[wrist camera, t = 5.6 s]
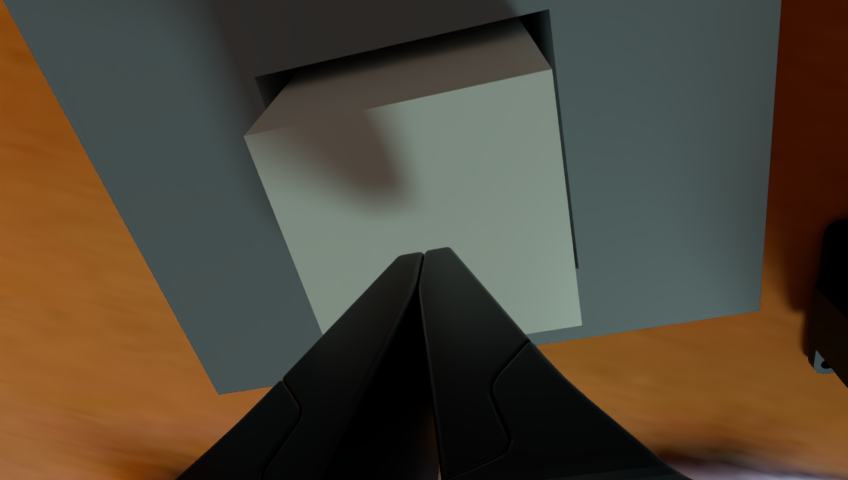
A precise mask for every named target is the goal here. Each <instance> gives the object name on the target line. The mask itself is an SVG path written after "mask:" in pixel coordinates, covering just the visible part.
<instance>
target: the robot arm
mask: <svg viewBox="0 0 848 480" xmlns="http://www.w3.org/2000/svg"><path fill="white" fill-rule="evenodd" d="M846 232H848V218H847V219H842V220H839V221H836V222H834V223H832V224H831V225H830V226H829V227H828V228H827V229H826V231H825V234H824V239H823V246H822V254H821V262H820V270H819V278H818V281H817V283H816V285H815V286H814V290H813V298H812V306H811V314H810V322H809V330H808V341H809V342H810V348H809V356H808V361H809V363H810V364H811V366H812V367H813V368H814V369H815V370H816V372H818V373H821V374H828V373H836V375H837V376H838V377H839V378H840V379H841V381H842V382H843V383H844V384H845V385H846V387H847V388H848V233H847V235H846V236H844V237H843V238H841V239H839V238H840V236H841V235H842V234H844V233H846ZM824 360H825V361H824ZM282 380H283V381H282ZM282 380H280V381H278V382H277V383H276V385H275V386H274V387H273V388H272V389H271V390H270V391H269V392H268V393H267V394H266V395H265V396H264V397H263V398H262V399H261V400H260V401H259V402H258V403H257V404H256V405H255V406H254V407H253V408H252V409H251V410H250V411H249V412H248V413H247V414H246V415H245V416H244V417H243V418H242V419H241V420H240V421H239V422H238V423H237V424H236V425H235V426H234V427H233V428H232V429H231V430H229V431H228V432H227V433H226V434H225V435H224V436H223V437H222V438H221V439H220V440H219V441H218V442H216V443H215V444H214V445H213V446H212V447H211V448H210V449H209V450H208V451H207V452H205V453H204V454H203V455H202V456H201V457H200V458H199V459H198V460H196V461H195V462H194V463H193V464H192V465H191V466H190V467H189V468H187V469H186V470H185V471H184V472H183V473H182V474H181V475H180V476H178V477H177V478H176V479H175V480H438V473H439V465H440V473H441V480H692V479H690V478H689V477H687V476H685V475H683V474H681V473H680V472H678V471H677V470H675V469H674V468H672V467H671V466H669V465H668V464H667V463H665V462H664V461H663V460H662V459H660V458H659V457H658V456H657V455H655V454H654V453H653V452H652V451H651V450H649V449H648V448H647V447H646V446H645V445H643V444H642V443H641V442H640V441H639V440H637V439H636V438H635V437H634V436H633V435H631V434H630V433H629V432H628V431H627V430H625V429H624V428H623V427H622V426H621V425H619V424H618V423H617V422H616V421H615V420H613V419H612V418H611V417H610V416H609V415H607V414H606V413H605V412H604V411H603V410H601V409H600V408H599V407H598V406H597V405H595V404H594V403H593V402H592V401H591V400H589V399H588V398H587V397H586V396H585V395H584V394H583V393H582V392H580V391H579V390H578V389H577V388H576V387H575V386H574V385H573V384H572V383H570V382H569V381H568V380H567V379H566V378H565V377H564V376H563V375H562V374H561V373H560V372H559V371H558V370H557V369H556V368H555V367H554V366H553V365H552V363H551V362H550V361H549V360H548V359H547V358H546V357H545V356H544V355H543V354H542V353H541V351H540V350H539V349H538V348H537V347H536V346H535V344H534V343H532V342H531V340H530V339H529V338H528V337H527V336H526V334H525V333H524V332H523V331H522V330H521V329H520V327H519V326H518V325H517V324H516V323H515V322H514V320H513V319H512V318H511V317H510V316H509V315H508V313H507V312H506V311H505V310H504V309H503V308H502V307H501V305H500V304H499V303H498V302H497V301H496V300H495V298H494V297H493V296H492V295H491V294H490V293H489V291H488V290H487V289H486V288H485V287H484V286H483V285H482V283H481V282H480V281H479V280H478V279H477V278H476V276H475V275H474V274H473V273H472V272H471V271H470V269H469V268H468V267H467V266H466V265H465V264H464V262H463V261H462V260H461V259H460V258H459V257H458V256H457V254H456V253H455V252H454V251H453V250H452V249H451V248H450V247H443V248H437V249H432V250H428V251H426V252H425V254H424V253H422V252H415V253H409V254H404V255H400V256H398V257H397V258H396V259H395V260H394V261H393V262H392V263H391V264H390V265H389V266H388V267H387V268H386V269H385V270H384V271H383V272H382V274H381V275H380V276H379V277H378V278H377V279H376V280H375V281H374V282H373V283H372V284H371V285H370V286H369V287H368V288H367V289H366V290H365V291H364V292H363V293H362V295H361V296H360V297H359V298H358V299H357V300H356V301H355V302H354V303H353V304H352V305H351V306H350V307H349V308H348V309H347V310H346V311H345V312H344V313H343V314H342V316H341V317H340V318H339V319H338V320H337V321H336V322H335V323H334V324H333V325H332V326H331V327H330V328H329V329H328V330H327V331H326V332H325V333H324V334H323V335H322V337H321V338H320V339H319V340H318V341H317V342H316V343H315V344H314V345H313V346H312V347H311V348H310V349H309V350H308V351H307V352H306V353H305V354H304V355H303V356H302V357H301V359H300V360H299V361H298V362H297V363H296V364H295V365H294V366H293V367H292V368H291V369H290V370H289V371H288V372H287V373H286V374H285V375H284V376H283V378H282Z"/></svg>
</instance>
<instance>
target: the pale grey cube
mask: <svg viewBox="0 0 848 480" xmlns="http://www.w3.org/2000/svg"><path fill="white" fill-rule="evenodd" d="M244 139H245V141H246V144H247V146H248V149H249V151H250V154H251V156H252V159H253V161H254V164H255V166H256V169H257V171H258V174H259V176H260V179H261V181H262V184H263V186H264V189H265V191H266V194H267V196H268V199H269V201H270V204H271V206H272V209H273V211H274V214H275V216H276V219H277V221H278V224H279V226H280V229H281V231H282V234H283V236H284V239H285V241H286V244H287V246H288V249H289V251H290V254H291V257H292V259H293V262H294V264H295V267H296V269H297V272H298V274H299V277H300V279H301V282H302V284H303V287H304V289H305V292H306V294H307V297H308V299H309V302H310V304H311V307H312V309H313V312H314V314H315V317H316V319H317V322H318V324H319V327H320V329H321V332H322V334H324V333H325V332H326V331H327V330H328V329H329V328H330V327H331V326H332V325H333V324H334V323H335V322H336V321H337V320H338V319H339V318H340V317H341V316H342V314H343V313H344V312H345V311H346V310H347V309H348V308H349V307H350V306H351V305H352V304H353V303H354V302H355V301H356V300H357V299H358V298H359V297H360V296H361V295H362V293H363V292H364V291H365V290H366V289H367V288H368V287H369V286H370V285H371V284H372V283H373V282H374V281H375V280H376V279H377V278H378V277H379V276H380V275H381V274H382V272H383V271H384V270H385V269H386V268H387V267H388V266H389V265H390V264H391V263H392V262H393V261H394V260H395V259H396V258H397V257H398V256H400V255H404V254H409V253H415V252H422V253H424V254H425V252H426V251H428V250H432V249H437V248H443V247H450V248H451V249H452V250H453V251H454V252H455V253H456V254H457V256H458V257H459V258H460V259H461V260H462V261H463V262H464V264H465V265H466V266H467V267H468V268H469V269H470V271H471V272H472V273H473V274H474V275H475V276H476V278H477V279H478V280H479V281H480V282H481V283H482V285H483V286H484V287H485V288H486V289H487V290H488V291H489V293H490V294H491V295H492V296H493V297H494V298H495V300H496V301H497V302H498V303H499V304H500V305H501V307H502V308H503V309H504V310H505V311H506V312H507V313H508V315H509V316H510V317H511V318H512V319H513V320H514V322H515V323H516V324H517V325H518V326H519V327H520V329H521V330H522V331H523V332H524V333H525V334H531V333H537V332H543V331H550V330H556V329H562V328H569V327H575V326H581V325H582V320H581V312H580V303H579V295H578V286H577V278H576V269H575V261H574V252H573V244H572V235H571V227H570V218H569V210H568V201H567V193H566V184H565V176H564V167H563V159H562V150H561V142H560V133H559V125H558V116H557V108H556V99H555V91H554V82H553V74H552V68H551V67H550V65H549V64H548V62H547V61H546V59H545V58H544V56H543V55H542V53H541V52H540V50H539V48H538V47H537V45H536V44H535V42H534V41H533V39H532V38H531V36H530V35H529V33H528V32H527V30H526V29H525V27H524V25H523V24H522V22H521V21H520V19H519V18H518V16H517V17H512V18H508V19H504V20H499V21H495V22H491V23H486V24H482V25H478V26H474V27H469V28H465V29H461V30H456V31H452V32H448V33H443V34H439V35H435V36H430V37H426V38H422V39H417V40H413V41H409V42H404V43H400V44H396V45H391V46H387V47H383V48H378V49H374V50H370V51H365V52H361V53H357V54H352V55H348V56H344V57H340V58H335V59H331V60H327V61H322V62H318V63H314V64H309V65H305V66H302V67H301V68H300V70H299V71H298V72H297V73H296V74H295V76H294V77H293V78H292V79H291V80H290V81H289V83H288V84H287V85H286V86H285V87H284V89H283V90H282V91H281V92H280V93H279V95H278V96H277V97H276V98H275V99H274V101H273V102H272V103H271V104H270V105H269V106H268V108H267V109H266V110H265V111H264V112H263V114H262V115H261V116H260V117H259V118H258V120H257V121H256V122H255V123H254V124H253V126H252V127H251V128H250V129H249V130H248V132H247V133H246V134H245V135H244Z"/></svg>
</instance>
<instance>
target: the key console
mask: <svg viewBox="0 0 848 480" xmlns="http://www.w3.org/2000/svg"><path fill="white" fill-rule="evenodd" d="M3 1H4V3H5V5H6V7H7V9H8V10H9V12H10V14H11V16H12V18H13V19H14V21H15V23H16V25H17V27H18V29H19V30H20V32H21V34H22V36H23V38H24V40H25V41H26V43H27V45H28V47H29V49H30V51H31V52H32V54H33V56H34V58H35V60H36V62H37V63H38V65H39V67H40V69H41V71H42V73H43V74H44V76H45V78H46V80H47V82H48V84H49V85H50V87H51V89H52V91H53V93H54V95H55V96H56V98H57V100H58V102H59V104H60V106H61V107H62V109H63V111H64V113H65V115H66V116H67V118H68V120H69V122H70V124H71V126H72V127H73V129H74V131H75V133H76V135H77V137H78V138H79V140H80V142H81V144H82V146H83V148H84V149H85V151H86V153H87V155H88V157H89V159H90V160H91V162H92V164H93V166H94V168H95V170H96V171H97V173H98V175H99V177H100V179H101V181H102V182H103V184H104V186H105V188H106V190H107V192H108V193H109V195H110V197H111V199H112V201H113V203H114V204H115V206H116V208H117V210H118V212H119V214H120V215H121V217H122V219H123V221H124V223H125V224H126V226H127V228H128V230H129V232H130V234H131V235H132V237H133V239H134V241H135V243H136V245H137V246H138V248H139V250H140V252H141V254H142V256H143V257H144V259H145V261H146V263H147V265H148V267H149V268H150V270H151V272H152V274H153V276H154V278H155V279H156V281H157V283H158V285H159V287H160V289H161V290H162V292H163V294H164V296H165V298H166V300H167V301H168V303H169V305H170V307H171V309H172V311H173V312H174V314H175V316H176V318H177V320H178V321H179V323H180V325H181V327H182V329H183V331H184V332H185V334H186V336H187V338H188V340H189V342H190V343H191V345H192V347H193V349H194V351H195V353H196V354H197V356H198V358H199V360H200V362H201V364H202V365H203V367H204V369H205V371H206V373H207V375H208V376H209V378H210V380H211V382H212V384H213V386H214V387H215V389H216V391H217V393H218V395H220V394H226V393H233V392H239V391H245V390H252V389H258V388H265V387H271V386H275V385H276V383H277V382H278V381H280V380H282V378H283V376H284V375H285V374H286V373H287V372H288V371H289V370H290V369H291V368H292V367H293V366H294V365H295V364H296V363H297V362H298V361H299V360H300V359H301V357H302V356H303V355H304V354H305V353H306V352H307V351H308V350H309V349H310V348H311V347H312V346H313V345H314V344H315V343H316V342H317V341H318V340H319V339H320V338H321V337H322V335H323V334H322V332H321V329H320V327H319V324H318V322H317V319H316V317H315V314H314V312H313V309H312V307H311V304H310V302H309V299H308V297H307V294H306V292H305V289H304V287H303V284H302V282H301V279H300V277H299V274H298V272H297V269H296V267H295V264H294V262H293V259H292V257H291V254H290V251H289V249H288V246H287V244H286V241H285V239H284V236H283V234H282V231H281V229H280V226H279V224H278V221H277V219H276V216H275V214H274V211H273V209H272V206H271V204H270V201H269V199H268V196H267V194H266V191H265V189H264V186H263V184H262V181H261V179H260V176H259V174H258V171H257V169H256V166H255V164H254V161H253V159H252V156H251V154H250V151H249V149H248V146H247V144H246V141H245V139H244V135H245V134H246V133H247V132H248V130H249V129H250V128H251V127H252V126H253V124H254V123H255V122H256V121H257V120H258V118H259V117H260V116H261V115H262V114H263V112H264V111H265V110H266V109H267V108H268V106H269V105H270V104H271V103H272V102H273V101H274V99H275V98H276V97H277V96H278V95H279V93H280V92H281V91H282V90H283V89H284V87H285V86H286V85H287V84H288V83H289V81H290V80H291V79H292V78H293V77H294V76H295V74H296V73H297V72H298V71H299V70H300V68H301V67H302V66H305V65H309V64H314V63H318V62H322V61H327V60H331V59H335V58H340V57H344V56H348V55H352V54H357V53H361V52H365V51H370V50H374V49H378V48H383V47H387V46H391V45H396V44H400V43H404V42H409V41H413V40H417V39H422V38H426V37H430V36H435V35H439V34H443V33H448V32H452V31H456V30H461V29H465V28H469V27H474V26H478V25H482V24H486V23H491V22H495V21H499V20H504V19H508V18H512V17H517V16H518V18H519V19H520V21H521V22H522V24H523V25H524V27H525V29H526V30H527V32H528V33H529V35H530V36H531V38H532V39H533V41H534V42H535V44H536V45H537V47H538V48H539V50H540V52H541V53H542V55H543V56H544V58H545V59H546V61H547V62H548V64H549V65H550V67H551V68H552V74H553V82H554V91H555V99H556V108H557V116H558V125H559V133H560V142H561V150H562V159H563V167H564V176H565V184H566V193H567V201H568V210H569V218H570V227H571V235H572V244H573V252H574V261H575V269H576V278H577V286H578V295H579V303H580V312H581V320H582V325H581V326H575V327H569V328H562V329H556V330H550V331H543V332H537V333H531V334H526V336H527V337H528V338H529V339H530V340H531V342H532V343H534V344H535V346H536V345H542V344H548V343H555V342H561V341H568V340H574V339H581V338H587V337H594V336H600V335H606V334H613V333H619V332H626V331H632V330H639V329H645V328H652V327H658V326H664V325H671V324H677V323H684V322H690V321H697V320H703V319H710V318H716V317H722V316H729V315H735V314H742V313H748V312H755V311H760V297H761V283H762V269H763V255H764V240H765V226H766V212H767V198H768V184H769V170H770V156H771V141H772V127H773V113H774V99H775V85H776V71H777V56H778V42H779V28H780V14H781V0H3ZM282 381H283V380H282Z"/></svg>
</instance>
